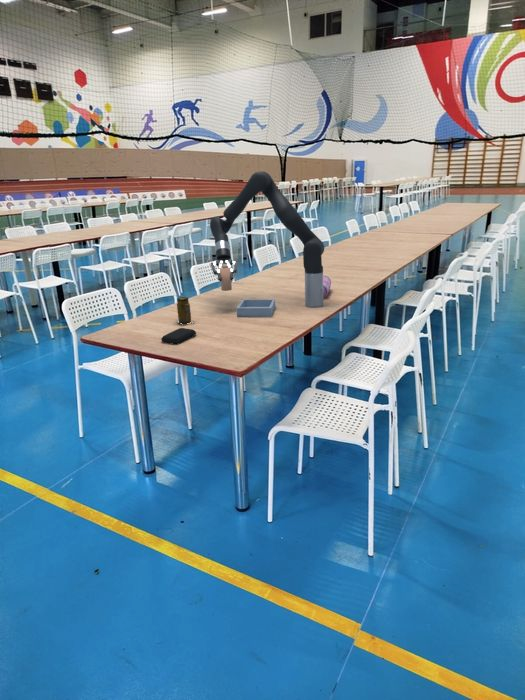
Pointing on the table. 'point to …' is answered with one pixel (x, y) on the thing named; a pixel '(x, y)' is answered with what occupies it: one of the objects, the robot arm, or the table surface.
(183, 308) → the condiment
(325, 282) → the pencil case
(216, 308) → the table surface
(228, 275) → the cruet
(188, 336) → the carrying case or bag
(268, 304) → the bin
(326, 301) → the table surface
